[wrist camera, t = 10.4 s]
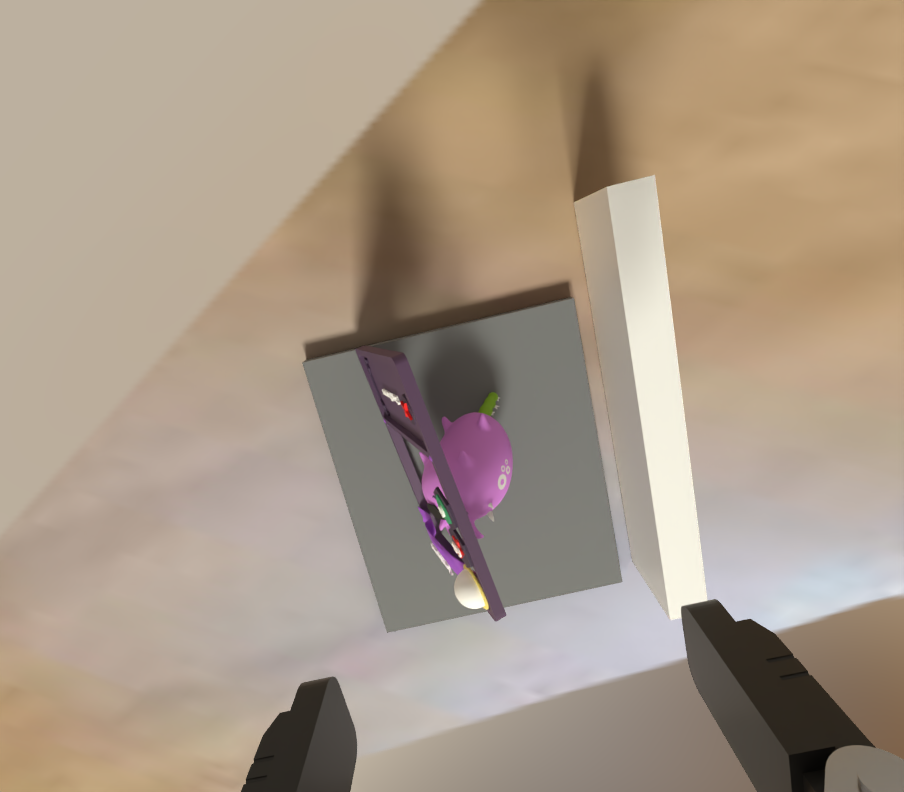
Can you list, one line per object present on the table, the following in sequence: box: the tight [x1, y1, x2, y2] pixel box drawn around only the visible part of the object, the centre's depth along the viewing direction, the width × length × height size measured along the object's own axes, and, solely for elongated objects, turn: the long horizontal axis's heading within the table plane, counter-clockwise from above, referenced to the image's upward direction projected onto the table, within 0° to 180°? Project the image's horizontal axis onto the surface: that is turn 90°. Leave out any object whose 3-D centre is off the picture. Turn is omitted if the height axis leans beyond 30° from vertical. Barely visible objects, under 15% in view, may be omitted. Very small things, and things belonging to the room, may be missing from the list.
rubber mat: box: [303, 297, 622, 633], centre depth 22 cm, size 11×13×1 cm
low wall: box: [574, 175, 707, 620], centre depth 19 cm, size 2×16×4 cm, turn 14°
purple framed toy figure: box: [355, 345, 513, 621], centre depth 18 cm, size 7×5×9 cm
